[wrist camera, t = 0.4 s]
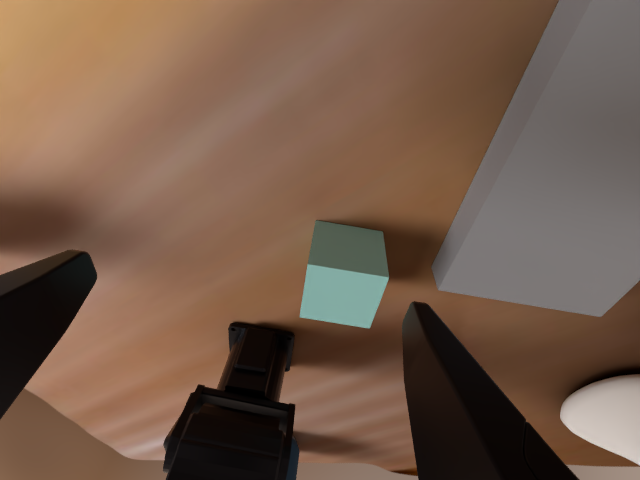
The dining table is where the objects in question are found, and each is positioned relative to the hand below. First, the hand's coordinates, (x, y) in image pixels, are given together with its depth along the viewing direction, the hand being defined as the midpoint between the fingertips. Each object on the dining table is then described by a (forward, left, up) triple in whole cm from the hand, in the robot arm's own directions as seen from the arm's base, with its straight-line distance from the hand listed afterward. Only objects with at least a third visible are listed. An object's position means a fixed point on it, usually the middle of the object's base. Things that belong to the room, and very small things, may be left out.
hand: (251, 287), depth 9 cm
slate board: (0, -17, -13) cm, 21 cm away
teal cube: (-9, -4, -13) cm, 16 cm away
